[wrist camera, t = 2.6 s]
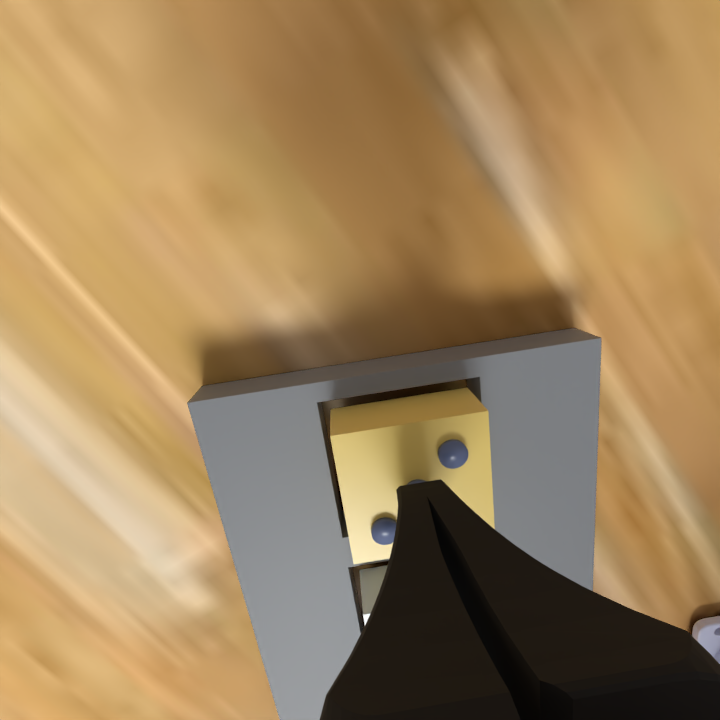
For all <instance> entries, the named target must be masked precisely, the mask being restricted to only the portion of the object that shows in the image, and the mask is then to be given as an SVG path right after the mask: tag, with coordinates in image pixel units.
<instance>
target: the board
mask: <svg viewBox="0 0 720 720" xmlns="http://www.w3.org/2000/svg"><path fill="white" fill-rule="evenodd" d="M600 364H601V338H600V337H597V336H595V335H592V334H589V333H587V332H584V331H581V330H579V329H576V328H571V329H564V330H558V331H551V332H545V333H539V334H532V335H526V336H519V337H513V338H507V339H500V340H494V341H487V342H481V343H475V344H468V345H462V346H455V347H449V348H443V349H436V350H430V351H423V352H417V353H410V354H404V355H398V356H391V357H385V358H378V359H372V360H366V361H359V362H353V363H346V364H340V365H334V366H327V367H321V368H314V369H308V370H302V371H295V372H289V373H282V374H276V375H270V376H263V377H257V378H250V379H244V380H237V381H231V382H225V383H218V384H212V385H205V386H202V387H201V388H200V389H199V390H198V391H197V392H196V394H195V395H194V396H193V397H192V398H191V399H190V400H189V401H188V403H187V404H188V407H189V411H190V414H191V418H192V421H193V424H194V428H195V431H196V435H197V438H198V442H199V445H200V448H201V452H202V455H203V459H204V462H205V466H206V469H207V472H208V476H209V479H210V483H211V486H212V489H213V493H214V496H215V500H216V503H217V507H218V510H219V513H220V517H221V520H222V524H223V527H224V531H225V534H226V537H227V541H228V544H229V548H230V551H231V554H232V558H233V561H234V565H235V568H236V572H237V575H238V578H239V582H240V585H241V589H242V592H243V595H244V599H245V602H246V606H247V609H248V613H249V616H250V619H251V623H252V626H253V630H254V633H255V637H256V640H257V643H258V647H259V650H260V654H261V657H262V660H263V664H264V667H265V671H266V674H267V678H268V681H269V684H270V688H271V691H272V695H273V698H274V702H275V705H276V708H277V712H278V715H279V719H280V720H320V716H321V712H322V709H323V705H324V701H325V697H326V694H327V693H328V691H329V689H330V688H331V686H332V684H333V683H334V681H335V680H336V678H337V676H338V675H339V673H340V671H341V670H342V668H343V666H344V665H345V663H346V661H347V660H348V658H349V656H350V654H351V653H352V651H353V649H354V647H355V645H356V643H357V641H358V639H359V637H360V635H361V633H362V631H363V629H364V628H363V623H362V618H361V612H360V607H359V602H358V596H357V591H356V585H355V580H354V575H353V569H352V567H354V566H360V565H366V564H372V563H378V562H384V561H389V559H384V560H378V561H372V562H366V563H360V564H354V563H353V558H352V552H351V547H350V542H349V536H348V531H347V525H346V520H345V514H344V510H343V511H342V510H341V505H340V499H339V494H338V488H337V483H336V478H335V472H334V467H333V461H332V456H331V451H330V445H329V440H328V435H327V429H326V424H325V418H324V413H323V408H322V402H323V401H329V400H336V399H342V398H348V397H355V396H361V395H367V394H374V393H380V392H386V391H393V390H399V389H405V388H412V387H418V386H424V385H431V384H437V383H443V382H450V381H456V380H462V379H466V380H467V388H468V389H469V390H470V391H471V392H472V393H473V394H474V395H475V396H476V398H477V399H478V400H479V401H480V402H481V403H482V404H483V405H484V407H485V408H486V409H487V410H488V413H489V431H490V450H491V469H492V487H493V506H494V525H495V530H496V531H498V532H499V533H500V534H501V535H503V536H504V537H505V538H507V539H508V540H509V541H510V542H512V543H513V544H514V545H516V546H517V547H519V548H520V549H521V550H523V551H524V552H526V553H527V554H529V555H530V556H532V557H533V558H535V559H536V560H538V561H539V562H541V563H542V564H544V565H546V566H547V567H549V568H551V569H552V570H554V571H556V572H558V573H559V574H561V575H563V576H565V577H567V578H568V579H570V580H572V581H574V582H576V583H578V584H579V585H581V586H583V587H585V588H587V589H589V590H591V591H593V565H594V536H595V508H596V479H597V450H598V421H599V393H600Z"/></svg>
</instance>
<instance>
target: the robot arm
mask: <svg viewBox="0 0 720 720" xmlns="http://www.w3.org/2000/svg"><path fill="white" fill-rule="evenodd" d="M396 492H397V500H398V514H397V523H396V530H395V536H394V541H393V546H392V550H391V554H390V559H389V563H388V566H387V570H386V573H385V576H384V579H383V582H382V585H381V588H380V591H379V593H378V596H377V599H376V601H375V604H374V606H373V609H372V611H371V614H370V616H369V618H368V620H367V623H366V625H365V627H364V629H363V631H362V633H361V635H360V637H359V639H358V641H357V643H356V645H355V647H354V649H353V651H352V653H351V654H350V656H349V658H348V660H347V661H346V663H345V665H344V666H343V668H342V670H341V671H340V673H339V675H338V676H337V678H336V680H335V681H334V683H333V684H332V686H331V688H330V689H329V691H328V693H327V694H326V697H325V701H324V705H323V709H322V712H321V716H320V720H720V616H715V617H709V618H703V619H700V620H698V621H697V622H696V623H695V624H694V626H693V632H692V636H691V635H690V634H689V633H688V632H687V631H685V630H683V629H680V628H678V627H675V626H672V625H670V624H667V623H665V622H662V621H660V620H657V619H655V618H652V617H650V616H647V615H644V614H642V613H639V612H637V611H634V610H632V609H630V608H627V607H625V606H623V605H621V604H619V603H616V602H614V601H612V600H610V599H608V598H606V597H603V596H601V595H599V594H597V593H595V592H593V591H591V590H589V589H587V588H585V587H583V586H581V585H579V584H578V583H576V582H574V581H572V580H570V579H568V578H567V577H565V576H563V575H561V574H559V573H558V572H556V571H554V570H552V569H551V568H549V567H547V566H546V565H544V564H542V563H541V562H539V561H538V560H536V559H535V558H533V557H532V556H530V555H529V554H527V553H526V552H524V551H523V550H521V549H520V548H519V547H517V546H516V545H514V544H513V543H512V542H510V541H509V540H508V539H507V538H505V537H504V536H503V535H501V534H500V533H499V532H498V531H496V530H495V529H494V528H493V527H491V526H490V525H489V524H488V523H487V522H486V521H484V520H483V519H482V518H481V517H480V516H479V515H478V514H476V513H475V512H474V511H473V510H472V509H471V508H470V507H469V506H468V505H467V504H466V503H464V502H463V501H462V500H461V499H460V498H459V497H458V496H457V495H456V494H455V493H454V492H453V491H452V490H451V489H450V488H449V487H448V485H447V484H446V483H445V482H443V481H442V480H441V479H439V480H433V481H427V482H421V483H415V484H409V485H403V486H399V487H398V488H397V490H396Z"/></svg>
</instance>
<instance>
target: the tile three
mask: <svg viewBox="0 0 720 720" xmlns="http://www.w3.org/2000/svg"><path fill="white" fill-rule="evenodd" d="M330 438H331V444H332V449H333V454H334V460H335V465H336V471H337V476H338V482H339V487H340V493H341V498H342V503H343V509H344V514H345V520H346V525H347V531H348V536H349V542H350V547H351V552H352V558H353V563H354V564H360V563H366V562H372V561H378V560H384V559H390V554H391V550H392V546H393V541H394V536H395V530H396V523H397V514H398V500H397V492H396V490H397V488H398V487H399V486H403V485H409V484H415V483H421V482H427V481H433V480H439V479H441V480H442V481H443V482H445V483H446V484H447V485H448V487H449V488H450V489H451V490H452V491H453V492H454V493H455V494H456V495H457V496H458V497H459V498H460V499H461V500H462V501H463V502H464V503H466V504H467V505H468V506H469V507H470V508H471V509H472V510H473V511H474V512H475V513H476V514H478V515H479V516H480V517H481V518H482V519H483V520H484V521H486V522H487V523H488V524H489V525H490V526H491V527H493V528H494V529H495V525H494V506H493V487H492V469H491V450H490V431H489V413H488V410H487V409H486V408H485V407H484V405H483V404H482V403H481V402H480V401H479V400H478V399H477V398H476V396H475V395H474V394H473V393H472V392H471V391H470V390H469V389H468V388H460V389H454V390H448V391H441V392H435V393H429V394H422V395H416V396H410V397H403V398H397V399H391V400H384V401H378V402H372V403H365V404H359V405H353V406H346V407H340V408H334V409H331V412H330Z"/></svg>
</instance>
